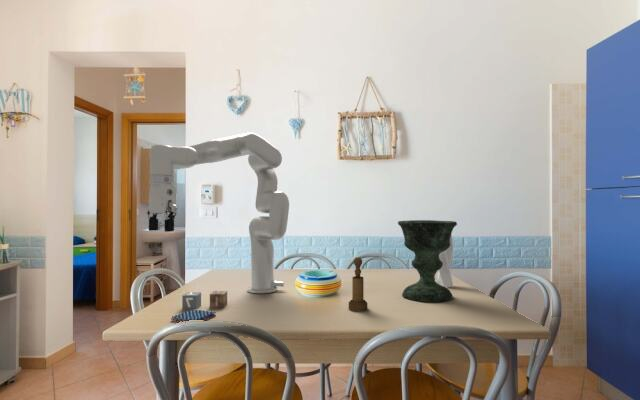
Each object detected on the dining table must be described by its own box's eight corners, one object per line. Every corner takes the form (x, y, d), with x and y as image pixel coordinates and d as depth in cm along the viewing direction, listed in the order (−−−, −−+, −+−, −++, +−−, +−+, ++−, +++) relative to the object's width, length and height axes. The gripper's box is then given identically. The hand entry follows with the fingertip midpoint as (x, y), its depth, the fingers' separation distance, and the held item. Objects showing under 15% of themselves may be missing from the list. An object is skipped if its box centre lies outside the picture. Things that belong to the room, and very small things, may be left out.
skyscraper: (443, 284, 175) (442, 223, 176) (457, 287, 168) (457, 224, 169) (430, 286, 171) (429, 224, 171) (444, 289, 164) (443, 225, 164)
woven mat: (191, 314, 129) (191, 308, 129) (217, 317, 125) (217, 311, 125) (168, 323, 119) (168, 316, 119) (196, 326, 115) (196, 320, 115)
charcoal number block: (201, 306, 137) (201, 291, 138) (196, 310, 132) (196, 295, 132) (187, 306, 138) (187, 291, 138) (182, 310, 132) (182, 295, 132)
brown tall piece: (355, 312, 128) (354, 259, 129) (345, 308, 134) (344, 257, 134) (371, 310, 131) (370, 258, 132) (360, 305, 137) (360, 255, 137)
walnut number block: (227, 304, 139) (227, 290, 140) (223, 308, 134) (223, 293, 134) (213, 304, 139) (213, 290, 140) (209, 308, 134) (209, 293, 134)
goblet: (402, 289, 164) (401, 219, 164) (457, 293, 156) (457, 220, 157) (393, 301, 143) (393, 222, 144) (457, 306, 136) (456, 222, 136)
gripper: (186, 180, 129) (185, 231, 128) (158, 182, 139) (157, 229, 138) (166, 179, 122) (165, 232, 122) (138, 181, 133) (137, 230, 132)
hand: (161, 230), depth 130 cm, fingers open, 9 cm apart
